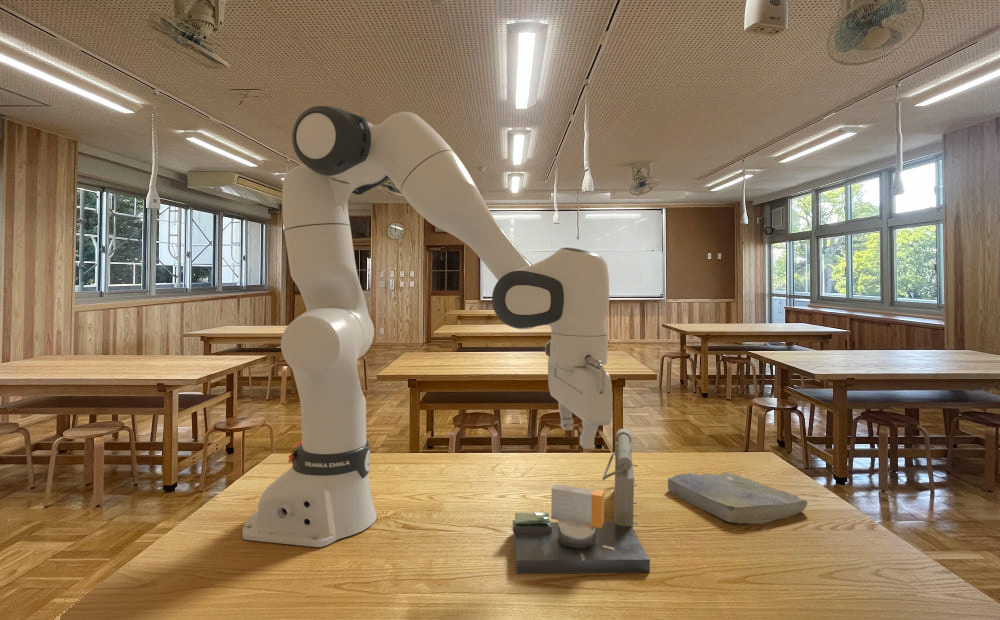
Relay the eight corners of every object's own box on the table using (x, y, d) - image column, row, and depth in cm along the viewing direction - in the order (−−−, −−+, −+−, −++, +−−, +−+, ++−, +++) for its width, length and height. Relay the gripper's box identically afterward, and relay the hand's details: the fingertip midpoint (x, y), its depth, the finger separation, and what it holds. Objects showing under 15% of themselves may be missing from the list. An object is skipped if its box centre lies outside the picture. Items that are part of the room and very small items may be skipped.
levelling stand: (515, 573, 77) (515, 541, 77) (512, 533, 89) (512, 505, 89) (649, 572, 77) (650, 540, 77) (628, 533, 89) (629, 504, 89)
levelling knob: (547, 542, 82) (548, 493, 81) (557, 525, 87) (557, 479, 87) (598, 552, 79) (599, 501, 78) (605, 534, 84) (606, 486, 84)
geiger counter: (641, 461, 86) (635, 421, 111) (602, 458, 88) (605, 419, 112) (639, 541, 87) (633, 484, 111) (600, 537, 89) (604, 481, 113)
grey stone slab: (723, 482, 115) (661, 489, 109) (725, 462, 115) (663, 468, 108) (806, 524, 97) (738, 535, 90) (809, 500, 96) (740, 510, 90)
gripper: (625, 362, 72) (622, 459, 72) (576, 343, 92) (574, 419, 92) (582, 362, 70) (579, 461, 71) (542, 343, 90) (540, 420, 91)
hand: (576, 437), depth 82 cm, fingers open, 8 cm apart
